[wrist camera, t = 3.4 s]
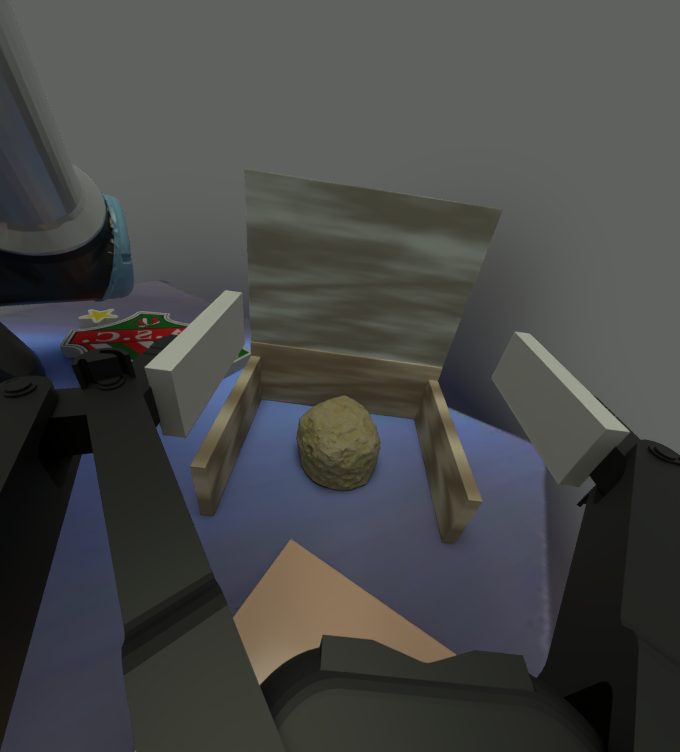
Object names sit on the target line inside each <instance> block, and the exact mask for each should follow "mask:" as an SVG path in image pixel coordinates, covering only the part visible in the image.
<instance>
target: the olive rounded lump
mask: <svg viewBox="0 0 680 752" xmlns="http://www.w3.org/2000/svg"><path fill="white" fill-rule="evenodd" d="M296 438H297V442H298V447H299V454H300V458H301V463H302V466H303V468H304V470H305V473H306V474H307V475H308V476H309V477H310V478H311V479H312V480H313V481H314V482H316V483H318V484H320V485H323V486H325V487H329V488H330V489H336V490H348V489H349V490H352V489H354V488H356V487H360V486H362V485H365V484H367V482H368V479H369V478H370V477H371V475H372V472H373V471H374V468H375V466H376V461H377V457H378V453H379V449H380V448H381V447H380V438H379V435H378V432H377V428H376V425H375V424H374V422H373V420H372V418H371V416H370V415H369V413H368V411H367V410H366V409H365V408H364V407H363V406H362V405H360V404H359V403H358V402H356V401H355V400H353V399H351V398H349V397H347V396H345V395H344V396H340V397H336V398H333V399H329V400H327V401H325V402H322V403H319V404H318V405H316V406H314V407H313V408H311V409H309V410H308V411H307V412H306V413H305V414H304V415H303V416H302V417H301V418H300V419H299V427H298V431H297V437H296Z"/></svg>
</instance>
